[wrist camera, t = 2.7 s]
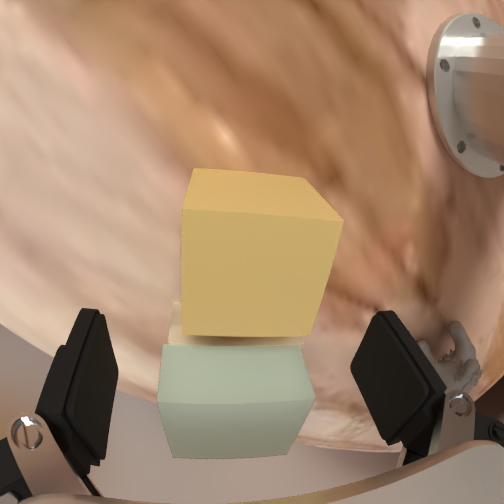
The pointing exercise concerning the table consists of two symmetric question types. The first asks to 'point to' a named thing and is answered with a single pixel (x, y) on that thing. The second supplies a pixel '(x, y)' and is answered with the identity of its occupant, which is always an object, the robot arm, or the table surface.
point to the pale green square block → (232, 400)
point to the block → (254, 254)
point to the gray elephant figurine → (456, 361)
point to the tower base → (201, 340)
